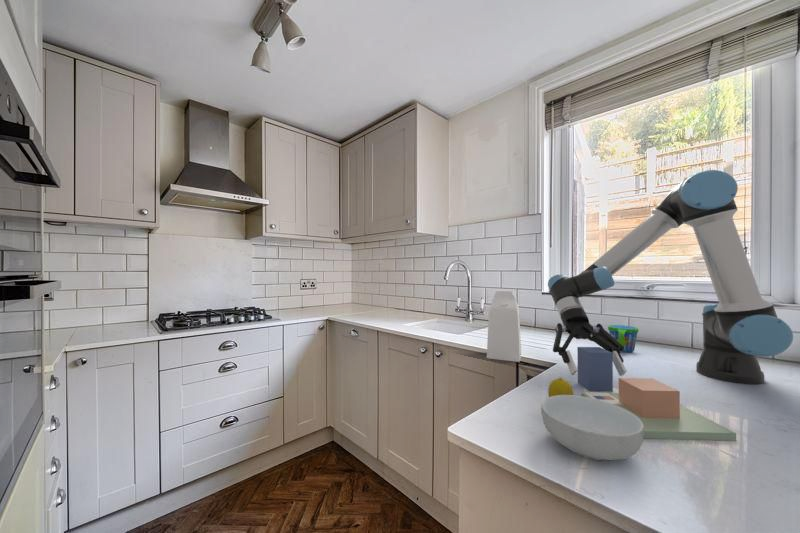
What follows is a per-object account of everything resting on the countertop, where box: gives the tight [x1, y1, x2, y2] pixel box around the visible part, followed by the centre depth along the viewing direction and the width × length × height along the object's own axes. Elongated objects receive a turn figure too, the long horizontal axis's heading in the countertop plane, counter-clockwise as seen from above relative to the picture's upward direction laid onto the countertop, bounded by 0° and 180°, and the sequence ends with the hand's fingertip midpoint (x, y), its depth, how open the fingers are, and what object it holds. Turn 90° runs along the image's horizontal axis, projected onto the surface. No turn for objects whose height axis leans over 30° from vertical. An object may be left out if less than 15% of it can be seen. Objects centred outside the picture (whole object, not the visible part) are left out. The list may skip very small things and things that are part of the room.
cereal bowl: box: [540, 394, 644, 461], centre depth 60 cm, size 17×17×7 cm
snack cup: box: [607, 324, 639, 353], centre depth 132 cm, size 16×10×10 cm
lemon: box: [548, 377, 575, 397], centre depth 76 cm, size 6×6×8 cm
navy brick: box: [577, 346, 614, 393], centre depth 91 cm, size 6×6×11 cm
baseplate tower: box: [580, 377, 737, 442], centre depth 73 cm, size 20×20×8 cm
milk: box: [486, 290, 522, 363], centre depth 124 cm, size 12×12×26 cm
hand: (598, 373), depth 89 cm, fingers open, 13 cm apart
